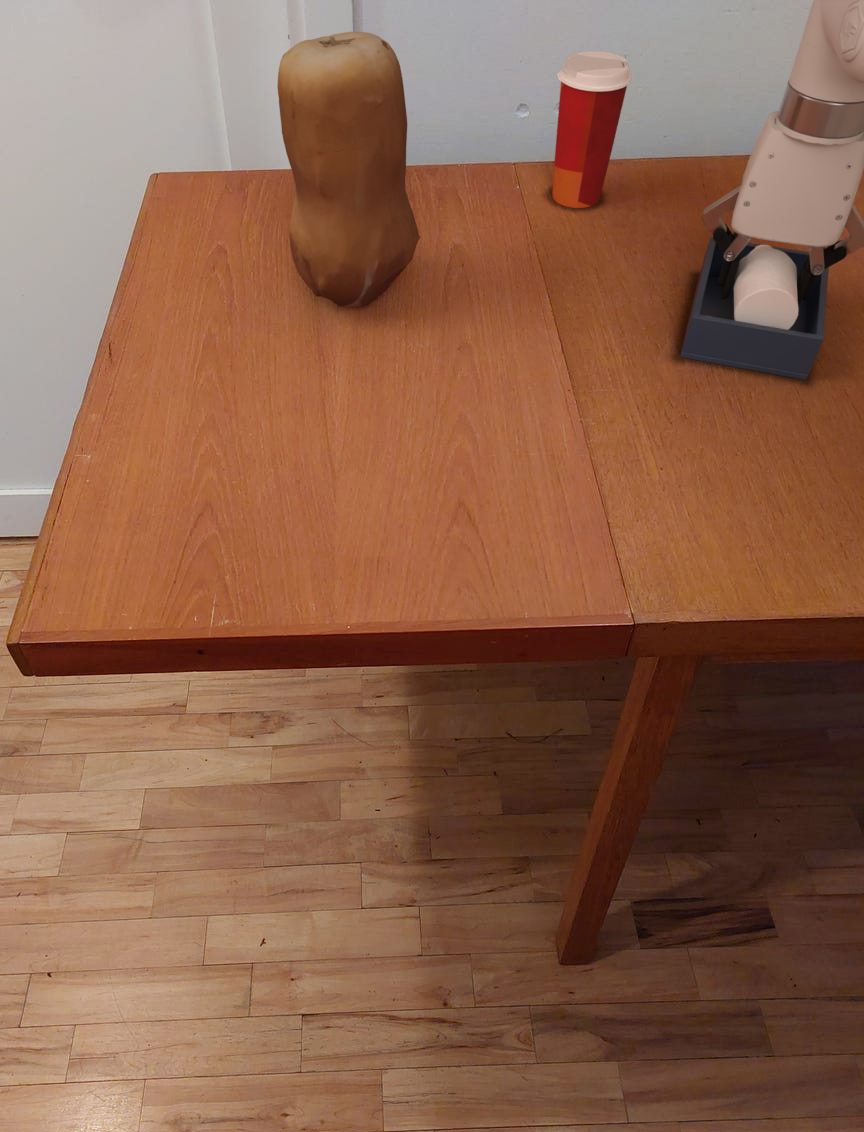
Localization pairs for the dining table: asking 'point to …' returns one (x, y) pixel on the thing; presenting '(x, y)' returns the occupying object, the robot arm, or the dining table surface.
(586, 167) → the coffee cup
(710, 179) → the dining table surface
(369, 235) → the butternut squash
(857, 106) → the robot arm
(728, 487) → the dining table surface
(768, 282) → the roll
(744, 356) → the tote
